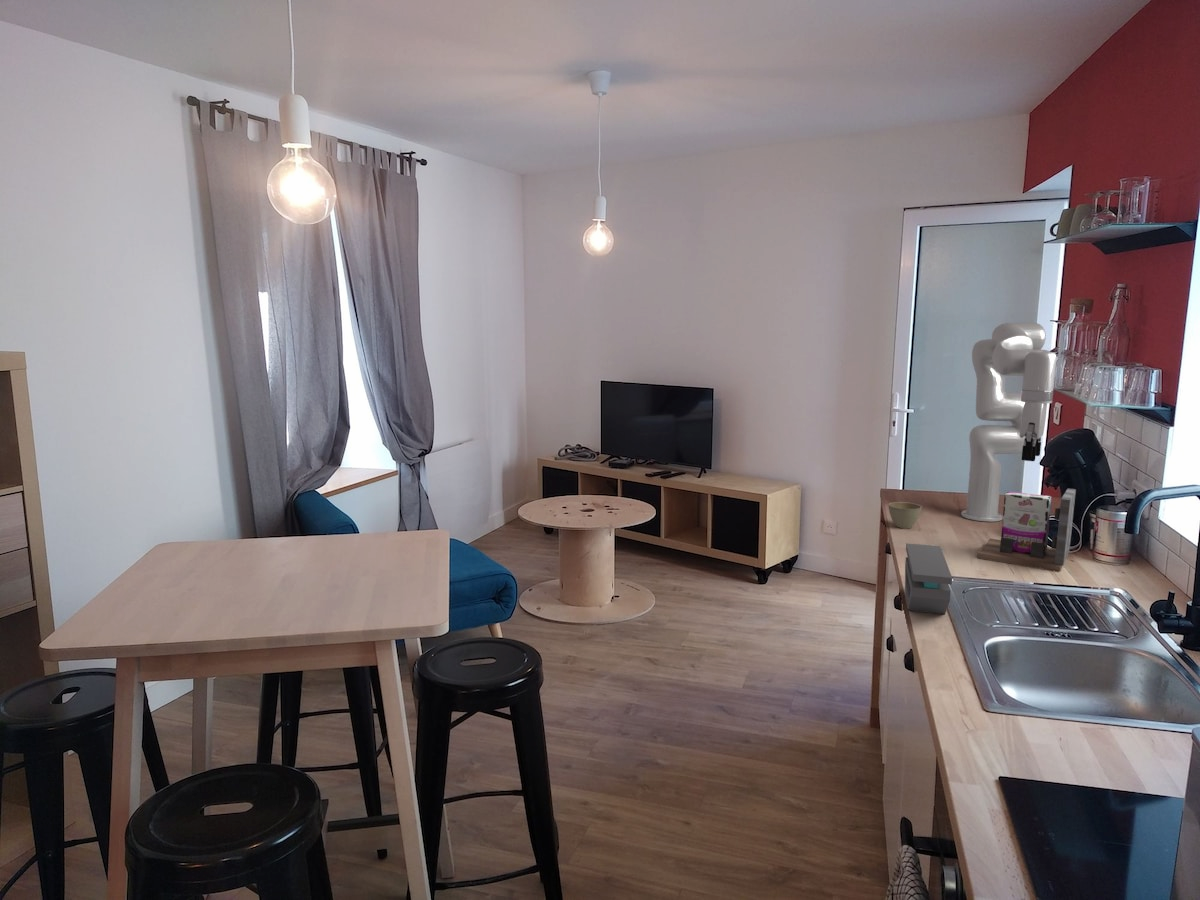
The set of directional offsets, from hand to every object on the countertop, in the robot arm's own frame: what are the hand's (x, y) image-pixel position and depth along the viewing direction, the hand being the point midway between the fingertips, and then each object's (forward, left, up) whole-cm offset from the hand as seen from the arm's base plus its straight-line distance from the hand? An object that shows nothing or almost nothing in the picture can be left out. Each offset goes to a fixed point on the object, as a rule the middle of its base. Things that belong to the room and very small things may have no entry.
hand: (1030, 458), depth 212 cm
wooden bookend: (+1, 0, -28) cm, 28 cm away
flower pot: (-12, -36, -29) cm, 47 cm away
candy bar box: (0, 0, -27) cm, 27 cm away
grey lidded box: (+55, -13, -29) cm, 64 cm away
